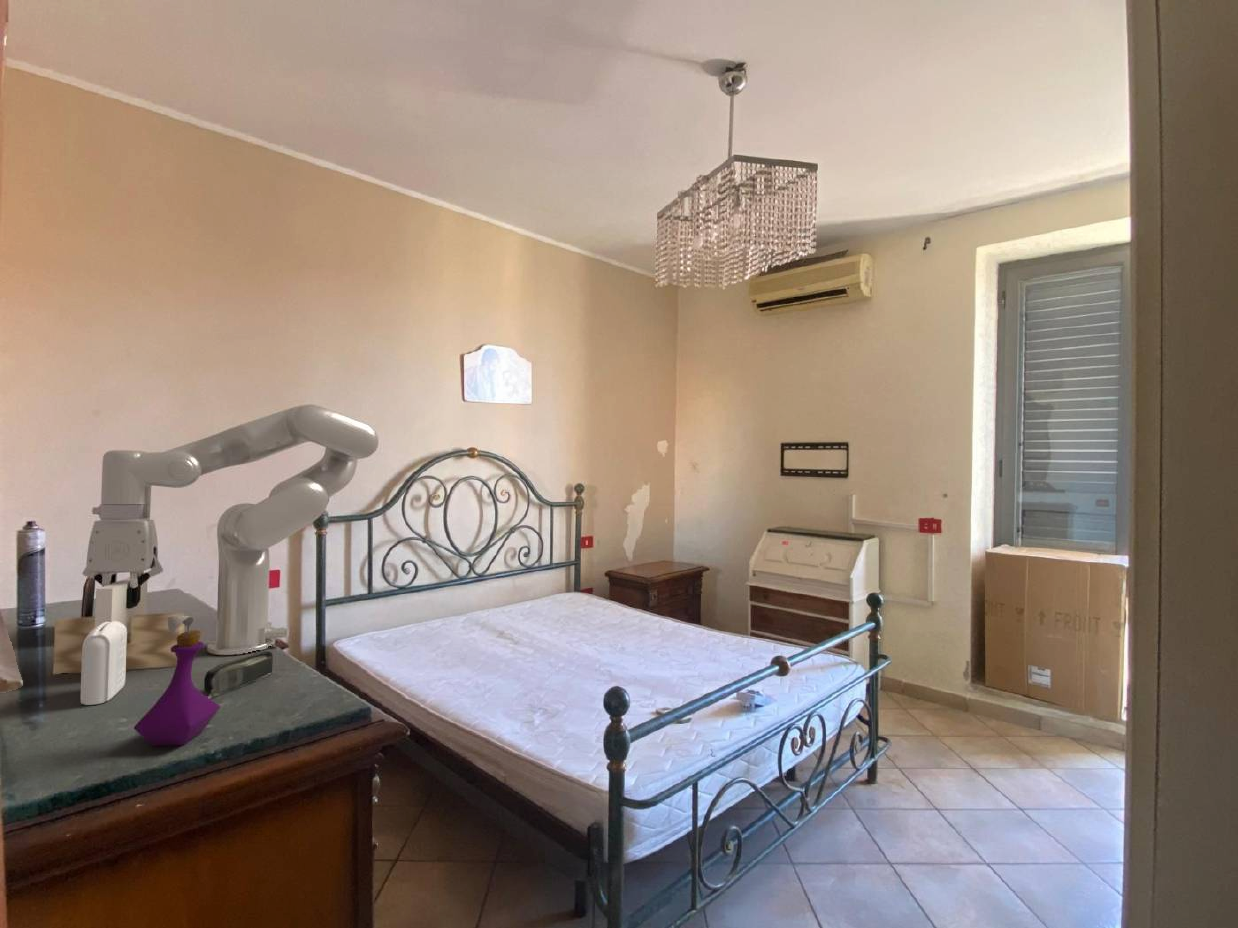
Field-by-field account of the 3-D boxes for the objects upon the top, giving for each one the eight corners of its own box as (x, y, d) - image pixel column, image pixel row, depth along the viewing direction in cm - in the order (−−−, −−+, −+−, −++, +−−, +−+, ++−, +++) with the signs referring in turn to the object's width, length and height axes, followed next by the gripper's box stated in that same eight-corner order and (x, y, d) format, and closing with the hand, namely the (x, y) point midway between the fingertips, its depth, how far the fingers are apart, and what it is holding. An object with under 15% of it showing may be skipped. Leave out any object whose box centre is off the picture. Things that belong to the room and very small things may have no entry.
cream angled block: (109, 669, 109) (112, 588, 110) (93, 670, 108) (96, 588, 109) (145, 648, 123) (147, 575, 123) (130, 648, 122) (133, 576, 122)
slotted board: (183, 662, 120) (184, 612, 120) (178, 666, 117) (179, 615, 117) (61, 670, 114) (63, 617, 114) (53, 674, 111) (55, 621, 112)
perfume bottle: (168, 728, 89) (172, 608, 90) (220, 727, 90) (224, 608, 90) (131, 751, 82) (136, 621, 82) (188, 750, 83) (193, 621, 83)
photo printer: (98, 687, 106) (100, 617, 106) (128, 683, 107) (130, 615, 108) (75, 707, 96) (78, 631, 97) (109, 703, 98) (112, 629, 98)
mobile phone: (263, 648, 115) (194, 671, 100) (277, 649, 114) (209, 672, 100) (262, 674, 115) (193, 701, 100) (275, 675, 114) (208, 702, 100)
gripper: (63, 514, 110) (59, 613, 110) (166, 514, 115) (162, 609, 114) (86, 511, 117) (82, 605, 117) (181, 512, 122) (178, 601, 122)
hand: (122, 606), depth 116 cm, fingers closed on cream angled block, 2 cm apart
